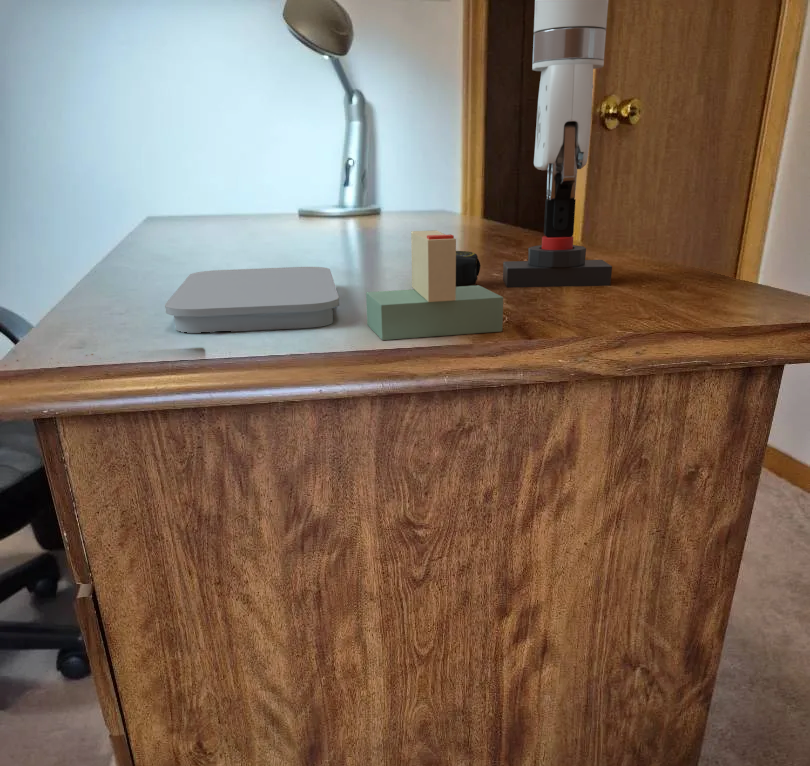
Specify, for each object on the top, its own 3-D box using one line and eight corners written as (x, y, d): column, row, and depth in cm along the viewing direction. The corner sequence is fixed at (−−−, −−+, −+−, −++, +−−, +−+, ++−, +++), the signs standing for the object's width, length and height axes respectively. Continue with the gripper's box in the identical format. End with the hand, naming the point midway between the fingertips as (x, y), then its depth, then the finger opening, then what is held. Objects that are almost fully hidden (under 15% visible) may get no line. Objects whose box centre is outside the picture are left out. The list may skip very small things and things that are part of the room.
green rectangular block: (478, 317, 77) (479, 285, 75) (502, 331, 70) (503, 297, 69) (367, 324, 74) (365, 292, 73) (382, 340, 68) (380, 304, 67)
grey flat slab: (163, 336, 72) (159, 310, 71) (195, 290, 95) (192, 271, 94) (341, 327, 74) (340, 302, 73) (330, 285, 97) (329, 265, 96)
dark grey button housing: (600, 278, 97) (603, 243, 95) (611, 286, 91) (614, 249, 89) (502, 279, 98) (503, 245, 96) (506, 288, 92) (508, 252, 90)
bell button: (569, 250, 94) (571, 234, 94) (574, 253, 91) (575, 237, 90) (539, 250, 94) (540, 235, 94) (543, 254, 91) (544, 238, 90)
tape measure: (417, 291, 91) (416, 257, 90) (427, 282, 97) (427, 250, 96) (476, 292, 90) (476, 257, 88) (482, 282, 96) (483, 250, 94)
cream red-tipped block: (412, 287, 74) (411, 228, 72) (436, 286, 75) (436, 227, 72) (428, 302, 67) (427, 236, 65) (455, 300, 68) (456, 235, 65)
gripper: (525, 61, 91) (519, 231, 99) (541, 45, 77) (533, 244, 85) (591, 58, 90) (580, 229, 99) (618, 43, 77) (603, 242, 85)
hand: (558, 236), depth 92 cm, fingers closed
